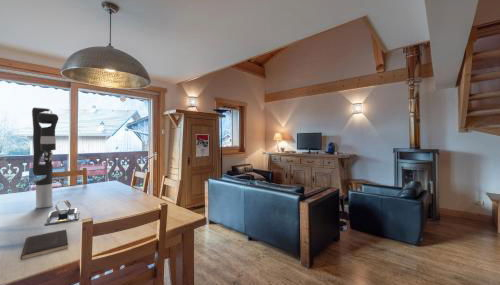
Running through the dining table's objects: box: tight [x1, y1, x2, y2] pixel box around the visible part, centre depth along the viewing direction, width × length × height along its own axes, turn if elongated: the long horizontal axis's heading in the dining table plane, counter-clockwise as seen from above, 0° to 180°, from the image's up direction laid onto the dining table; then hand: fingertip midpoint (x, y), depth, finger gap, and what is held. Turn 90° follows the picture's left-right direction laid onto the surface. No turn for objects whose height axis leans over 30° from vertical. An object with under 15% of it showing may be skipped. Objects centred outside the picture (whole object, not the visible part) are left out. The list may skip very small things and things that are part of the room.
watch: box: [54, 199, 72, 219], centre depth 146 cm, size 6×8×11 cm
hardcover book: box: [20, 229, 69, 260], centre depth 111 cm, size 16×23×2 cm
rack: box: [44, 207, 80, 226], centre depth 146 cm, size 18×16×4 cm
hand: (48, 167), depth 149 cm, fingers open, 8 cm apart
